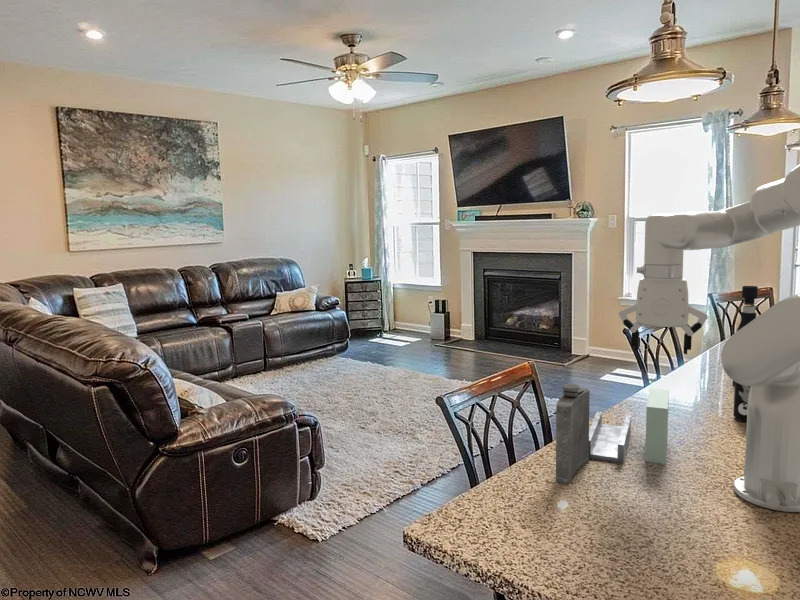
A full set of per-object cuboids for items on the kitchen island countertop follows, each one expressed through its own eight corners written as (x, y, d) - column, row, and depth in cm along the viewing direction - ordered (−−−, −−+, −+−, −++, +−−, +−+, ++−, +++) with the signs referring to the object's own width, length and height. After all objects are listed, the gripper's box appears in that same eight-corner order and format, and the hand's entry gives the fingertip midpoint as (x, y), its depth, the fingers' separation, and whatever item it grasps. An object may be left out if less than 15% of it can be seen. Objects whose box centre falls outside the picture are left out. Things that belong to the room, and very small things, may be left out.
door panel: (665, 464, 120) (667, 408, 119) (645, 461, 122) (646, 406, 120) (667, 440, 133) (669, 390, 131) (648, 438, 134) (649, 388, 133)
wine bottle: (762, 387, 170) (768, 286, 166) (747, 390, 168) (752, 288, 164) (742, 382, 176) (747, 284, 172) (727, 384, 174) (732, 286, 170)
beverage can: (768, 424, 140) (771, 376, 139) (738, 423, 142) (741, 376, 140) (757, 415, 147) (759, 369, 145) (729, 414, 148) (731, 369, 147)
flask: (549, 481, 114) (550, 393, 111) (573, 456, 125) (574, 375, 123) (567, 485, 112) (568, 396, 109) (590, 459, 123) (591, 378, 121)
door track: (623, 463, 121) (623, 445, 120) (584, 457, 124) (584, 440, 124) (630, 431, 139) (631, 415, 138) (596, 427, 142) (596, 411, 142)
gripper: (617, 273, 123) (616, 352, 125) (709, 274, 115) (706, 358, 117) (621, 270, 129) (619, 345, 132) (708, 271, 122) (705, 350, 124)
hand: (660, 351), depth 124 cm, fingers open, 9 cm apart
